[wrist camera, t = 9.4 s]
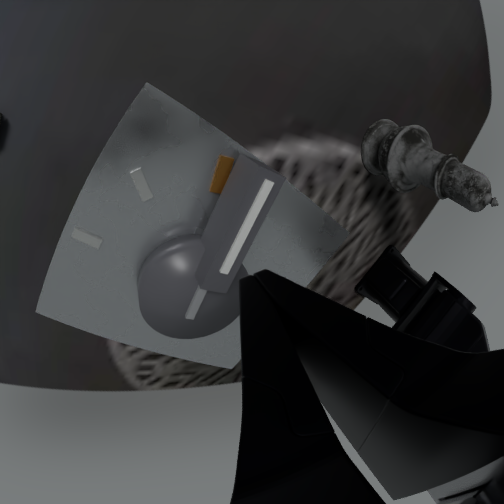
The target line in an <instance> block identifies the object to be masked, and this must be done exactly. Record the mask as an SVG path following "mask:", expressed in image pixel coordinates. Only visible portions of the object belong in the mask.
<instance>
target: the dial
mask: <svg viewBox="0 0 504 504" xmlns="http://www.w3.org/2000/svg"><path fill="white" fill-rule="evenodd" d="M285 180H286V177H284V176H283V175H281V174H280V173H278V172H277V171H275V170H274V169H272V168H271V167H269V166H268V165H266V164H265V163H263V162H260V161H258V160H256V159H254V158H251V157H249V156H247V155H244V154H242V153H240V155H239V157H238V159H237V161H236V163H235V165H234V167H233V169H232V171H231V173H230V176H229V178H228V180H227V182H226V184H225V186H224V188H223V190H222V193H221V195H220V197H219V199H218V201H217V203H216V205H215V208H214V210H213V212H212V214H211V216H210V219H209V221H208V223H207V225H206V228H205V230H204V232H203V234H189V235H183V236H179V237H176V238H173V239H170V240H168V241H166V242H164V243H163V244H161V245H159V246H158V247H157V248H155V249H154V250H153V251H152V252H151V253H150V254H149V255H148V256H147V258H146V259H145V260H144V262H143V264H142V265H141V268H140V270H139V273H138V277H137V290H138V299H139V308H140V311H141V314H142V316H143V318H144V320H145V321H146V323H147V324H148V325H149V326H150V327H151V328H153V329H154V330H155V331H157V332H159V333H160V334H163V335H165V336H168V337H171V338H177V339H195V338H201V337H205V336H208V335H211V334H213V333H216V332H218V331H220V330H222V329H223V328H225V327H226V326H228V325H229V324H231V323H232V322H233V321H234V320H235V319H236V318H237V317H238V316H239V286H238V281H239V279H240V278H243V277H245V276H248V275H249V274H248V272H247V270H246V268H245V267H244V265H243V264H242V262H243V260H244V258H245V256H246V254H247V253H248V251H249V249H250V247H251V245H252V243H253V241H254V239H255V237H256V235H257V233H258V231H259V229H260V228H261V226H262V224H263V222H264V220H265V218H266V216H267V214H268V212H269V210H270V208H271V206H272V204H273V203H274V201H275V199H276V197H277V195H278V193H279V191H280V189H281V187H282V185H283V183H284V182H285Z"/></svg>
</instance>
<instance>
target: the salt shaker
mask: <svg viewBox="0 0 504 504" xmlns="http://www.w3.org/2000/svg"><path fill="white" fill-rule="evenodd" d="M361 156H362V161H363V164H364V166H365V168H366V169H367V170H368V171H369V172H370V173H372V174H374V175H378V176H379V175H384V176H385V177H386V179H387V180H388V181H389V182H390V184H391V185H392V187H393V188H394V189H395V190H397V191H398V192H401V193H407V192H411V191H412V190H414V189H416V188H417V187H418V186H419V185H420V184H421V185H424V186H426V187H428V188H430V189H431V190H433V191H435V194H436V196H437V197H438V198H439V199H446V198H449V199H451V200H453V201H455V202H456V203H458V204H460V205H461V206H463V207H465V208H467V209H468V210H470V211H473V212H479V211H481V210H482V209H484V208H485V206H486V205H488V204H489V203H490V204H491V206H492V207H493V206H496V205H497V206H498V203H497V200H496V198H495V197H494V198H492V197H491V185H490V181H489V180H488V178H487V177H486V176H485V175H484V174H482V173H480V172H478V171H476V170H474V169H472V168H470V167H468V166H466V165H464V164H462V163H460V161H459V158H458V157H457V156H456V155H454V154H449V155H445V154H442V153H440V152H438V151H435V150H434V149H433V148H432V142H431V138H430V136H429V134H428V132H427V131H426V130H425V129H424V128H423V127H421V126H419V125H410V126H402V127H398V125H397V124H395V123H394V122H393V121H391V120H388V119H381V120H378V121H376V122H375V123H373V124H372V125H371V126H370V127H369V129H368V130H367V131H366V134H365V136H364V138H363V141H362V145H361Z"/></svg>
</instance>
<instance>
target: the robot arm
mask: <svg viewBox="0 0 504 504" xmlns="http://www.w3.org/2000/svg"><path fill="white" fill-rule="evenodd" d="M238 286H239V317H240V344H241V369H242V421H241V422H242V423H241V434H240V442H239V451H238V460H237V469H236V477H235V483H234V489H233V493H232V498H231V502H230V504H386V503H385V502H384V501H383V500H382V498H381V497H380V496H379V495H378V493H377V492H376V491H375V490H374V488H373V487H372V486H371V485H370V483H369V482H368V481H367V480H366V478H365V477H364V476H363V474H362V473H361V472H360V471H359V469H358V468H357V467H356V466H355V464H354V463H353V462H352V460H351V459H350V458H349V456H348V455H347V454H346V452H345V451H344V449H343V447H342V445H341V443H340V441H339V440H338V438H337V436H336V434H335V433H334V429H333V427H332V425H331V423H330V421H329V419H328V417H327V415H326V412H325V410H324V408H323V406H324V407H325V408H326V410H327V411H328V413H329V414H330V415H331V417H332V418H333V420H334V421H335V422H336V424H337V425H338V427H339V428H340V429H341V430H342V432H343V433H344V435H345V436H346V438H347V439H348V440H349V442H350V443H351V444H352V446H353V447H354V449H355V450H356V451H357V452H358V454H359V455H360V457H361V458H362V459H363V461H364V462H365V464H366V465H367V466H368V467H369V469H370V470H371V471H372V473H373V474H374V476H375V477H376V478H377V479H378V481H379V482H380V483H381V485H382V486H383V487H384V489H385V490H386V491H387V493H388V494H389V495H390V496H391V498H392V499H393V500H397V499H401V498H404V497H408V496H411V495H414V494H417V493H420V492H423V491H426V490H427V491H428V492H429V494H430V495H431V497H432V498H433V499H434V501H435V502H436V504H504V349H501V350H495V351H490V348H489V344H488V339H487V335H486V331H485V327H484V325H483V324H482V323H481V321H480V320H479V319H478V318H477V317H476V316H475V315H473V314H472V313H473V312H474V311H475V309H476V307H475V305H473V303H472V302H470V301H469V300H468V299H467V298H466V297H465V296H464V295H463V294H462V293H461V292H460V291H458V290H457V289H456V288H455V287H454V286H452V285H451V284H450V283H449V282H447V281H446V280H445V279H444V278H443V277H441V276H440V275H439V274H438V273H436V272H434V273H433V274H432V277H431V279H430V280H429V281H426V280H425V279H424V278H423V277H422V276H421V275H419V274H418V273H417V272H416V271H415V270H413V269H412V268H411V267H410V264H409V263H408V262H407V261H406V260H405V258H404V257H403V256H402V255H401V254H400V252H399V251H398V250H397V249H396V248H395V247H394V246H393V245H390V246H389V247H388V248H387V249H386V250H385V252H384V253H383V254H382V255H381V257H380V258H379V259H378V260H377V262H376V263H375V264H374V265H373V267H372V268H371V269H370V270H369V272H368V273H367V274H366V275H365V276H364V278H363V279H362V280H361V281H360V282H359V283H358V285H357V286H356V288H355V289H356V291H357V292H358V293H360V294H362V295H363V296H365V297H366V298H368V299H370V300H371V301H373V302H374V303H376V304H379V305H380V307H382V309H383V310H384V311H385V312H386V313H387V314H388V315H389V316H390V317H391V318H392V319H393V320H394V321H395V322H396V323H395V325H394V326H393V327H392V328H391V327H388V326H386V325H384V324H382V323H379V322H377V321H375V320H373V319H371V318H369V317H368V318H367V319H366V316H364V315H362V314H360V313H358V312H356V311H354V310H352V309H349V308H347V307H345V306H343V305H341V304H339V303H337V302H335V301H333V300H331V299H328V298H326V297H324V296H322V295H320V294H318V293H316V292H314V291H312V290H310V289H308V288H305V287H303V286H301V285H299V284H297V283H295V282H293V281H291V280H289V279H287V278H285V277H283V276H280V275H278V274H276V273H274V272H272V271H270V270H268V269H263V270H261V271H258V272H256V273H254V274H253V275H248V276H245V277H243V278H240V279H239V281H238ZM445 289H447V290H445ZM320 401H321V402H320ZM321 403H322V404H323V406H322V404H321Z"/></svg>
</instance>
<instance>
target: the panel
mask: <svg viewBox="0 0 504 504" xmlns="http://www.w3.org/2000/svg"><path fill="white" fill-rule="evenodd" d="M240 153H242V154H244V155H247V156H249V157H251V158H254V159H256V160H258V161H260V162H262V161H261V160H260V159H258V158H257V157H256V156H254V155H253V154H252V153H250V152H249V151H248V150H246V149H245V148H244V147H242V146H241V145H239V144H238V143H237V142H235V141H234V140H233V139H231V138H230V137H228V136H227V135H226V134H224V133H223V132H221V131H220V130H218V129H217V128H216V127H214V126H213V125H211V124H210V123H208V122H207V121H206V120H204V119H203V118H201V117H200V116H198V115H197V114H195V113H194V112H192V111H191V110H189V109H188V108H186V107H185V106H183V105H182V104H180V103H179V102H177V101H176V100H174V99H173V98H171V97H169V96H168V95H166V94H165V93H163V92H162V91H160V90H158V89H157V88H155V87H154V86H152V85H150V84H149V83H146V84H145V85H144V87H143V88H142V89H141V91H140V92H139V94H138V95H137V96H136V98H135V99H134V101H133V102H132V104H131V105H130V107H129V108H128V110H127V111H126V113H125V114H124V116H123V117H122V119H121V120H120V122H119V124H118V125H117V127H116V128H115V130H114V132H113V133H112V135H111V136H110V138H109V140H108V141H107V143H106V145H105V147H104V148H103V150H102V152H101V154H100V155H99V157H98V159H97V161H96V163H95V164H94V166H93V168H92V170H91V172H90V174H89V176H88V178H87V180H86V182H85V184H84V186H83V188H82V190H81V192H80V194H79V196H78V198H77V200H76V202H75V204H74V207H73V209H72V211H71V213H70V215H69V218H68V220H67V222H66V225H65V227H64V229H63V232H62V234H61V237H60V239H59V242H58V244H57V247H56V250H55V252H54V255H53V258H52V261H51V263H50V266H49V269H48V272H47V275H46V278H45V281H44V284H43V287H42V291H41V294H40V297H39V301H38V304H37V308H36V312H37V313H39V314H42V315H44V316H46V317H49V318H52V319H54V320H57V321H59V322H62V323H65V324H67V325H70V326H73V327H75V328H78V329H81V330H84V331H87V332H90V333H93V334H96V335H99V336H102V337H105V338H108V339H111V340H114V341H118V342H121V343H124V344H128V345H131V346H135V347H138V348H142V349H145V350H149V351H153V352H157V353H160V354H164V355H168V356H172V357H177V358H181V359H185V360H189V361H194V362H199V363H203V364H208V365H213V366H218V367H223V368H228V369H232V368H233V367H234V366H235V365H236V364H237V363H238V362H239V361H240V360H241V344H240V317H239V316H238V317H237V318H236V319H235V320H234V321H233V322H232V323H231V324H229V325H228V326H226V327H225V328H223V329H222V330H220V331H218V332H216V333H213V334H211V335H208V336H205V337H201V338H195V339H177V338H171V337H168V336H165V335H163V334H160V333H159V332H157V331H155V330H154V329H153V328H151V327H150V326H149V325H148V324H147V323H146V321H145V320H144V318H143V316H142V314H141V311H140V308H139V299H138V290H137V277H138V273H139V270H140V268H141V265H142V264H143V262H144V260H145V259H146V258H147V256H148V255H149V254H150V253H151V252H152V251H153V250H154V249H155V248H157V247H158V246H159V245H161V244H163V243H164V242H166V241H168V240H170V239H173V238H176V237H179V236H183V235H189V234H203V232H204V230H205V228H206V225H207V223H208V221H209V219H210V216H211V214H212V212H213V210H214V208H215V205H216V203H217V201H218V199H219V197H220V195H221V193H222V190H223V188H224V186H225V184H226V182H227V180H228V178H229V176H230V173H231V171H232V169H233V167H234V165H235V163H236V161H237V159H238V157H239V155H240ZM263 163H264V162H263ZM349 234H350V233H349V232H348V231H347V230H346V229H345V228H343V227H342V226H341V225H340V224H339V223H338V222H336V221H335V220H334V219H333V218H332V217H331V216H329V215H328V214H327V213H326V212H325V211H324V210H322V209H321V208H320V207H319V206H318V205H316V204H315V203H314V202H313V201H312V200H310V199H309V198H308V197H307V196H305V195H304V194H303V193H302V192H301V191H299V190H298V189H297V188H296V187H294V186H293V185H292V184H291V183H289V182H288V181H287V180H285V182H284V183H283V185H282V187H281V189H280V191H279V193H278V195H277V197H276V199H275V201H274V203H273V204H272V206H271V208H270V210H269V212H268V214H267V216H266V218H265V220H264V222H263V224H262V226H261V228H260V229H259V231H258V233H257V235H256V237H255V239H254V241H253V243H252V245H251V247H250V249H249V251H248V253H247V254H246V256H245V258H244V260H243V262H242V264H243V265H244V267H245V268H246V270H247V272H248V274H249V275H253V274H254V273H256V272H258V271H261V270H263V269H268V270H270V271H272V272H274V273H276V274H278V275H280V276H283V277H285V278H287V279H289V280H291V281H293V282H295V283H297V284H299V285H301V286H303V287H305V288H306V286H307V285H308V284H309V283H310V282H311V280H312V279H313V278H314V277H315V276H316V275H317V273H318V272H319V271H320V270H321V269H322V267H323V266H324V265H325V264H326V262H327V261H328V260H329V259H330V258H331V256H332V255H333V254H334V253H335V251H336V250H337V249H338V248H339V247H340V245H341V244H342V243H343V242H344V240H345V239H346V238H347V237H348V235H349Z"/></svg>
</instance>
